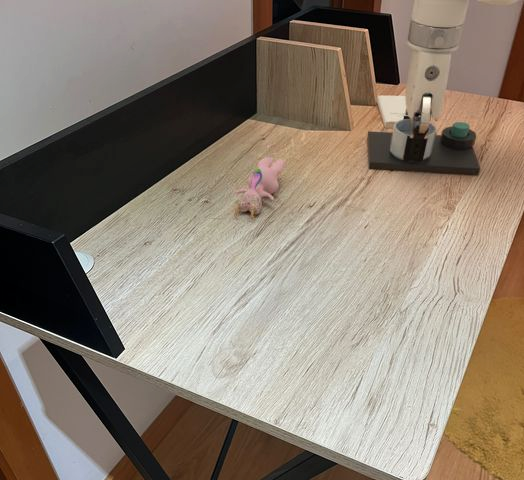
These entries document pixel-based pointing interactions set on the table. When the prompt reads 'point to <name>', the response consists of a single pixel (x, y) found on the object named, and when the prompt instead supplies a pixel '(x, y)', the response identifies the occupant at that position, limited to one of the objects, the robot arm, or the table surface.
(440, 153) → the scale
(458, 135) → the button
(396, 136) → the bowl
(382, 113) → the hard drive
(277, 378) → the table surface
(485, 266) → the table surface
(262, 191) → the pink soft elongated toy
